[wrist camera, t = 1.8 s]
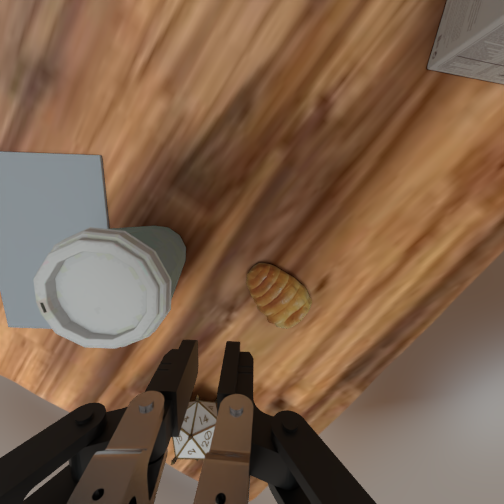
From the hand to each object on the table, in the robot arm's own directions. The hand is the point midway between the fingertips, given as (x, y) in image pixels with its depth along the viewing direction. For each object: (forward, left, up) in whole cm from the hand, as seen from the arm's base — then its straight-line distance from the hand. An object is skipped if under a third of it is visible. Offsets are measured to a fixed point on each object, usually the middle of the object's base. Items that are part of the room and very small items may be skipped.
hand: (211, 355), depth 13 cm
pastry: (+5, +6, -22) cm, 23 cm away
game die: (+25, -5, -21) cm, 33 cm away
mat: (0, -25, -21) cm, 33 cm away
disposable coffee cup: (0, -10, -21) cm, 23 cm away
